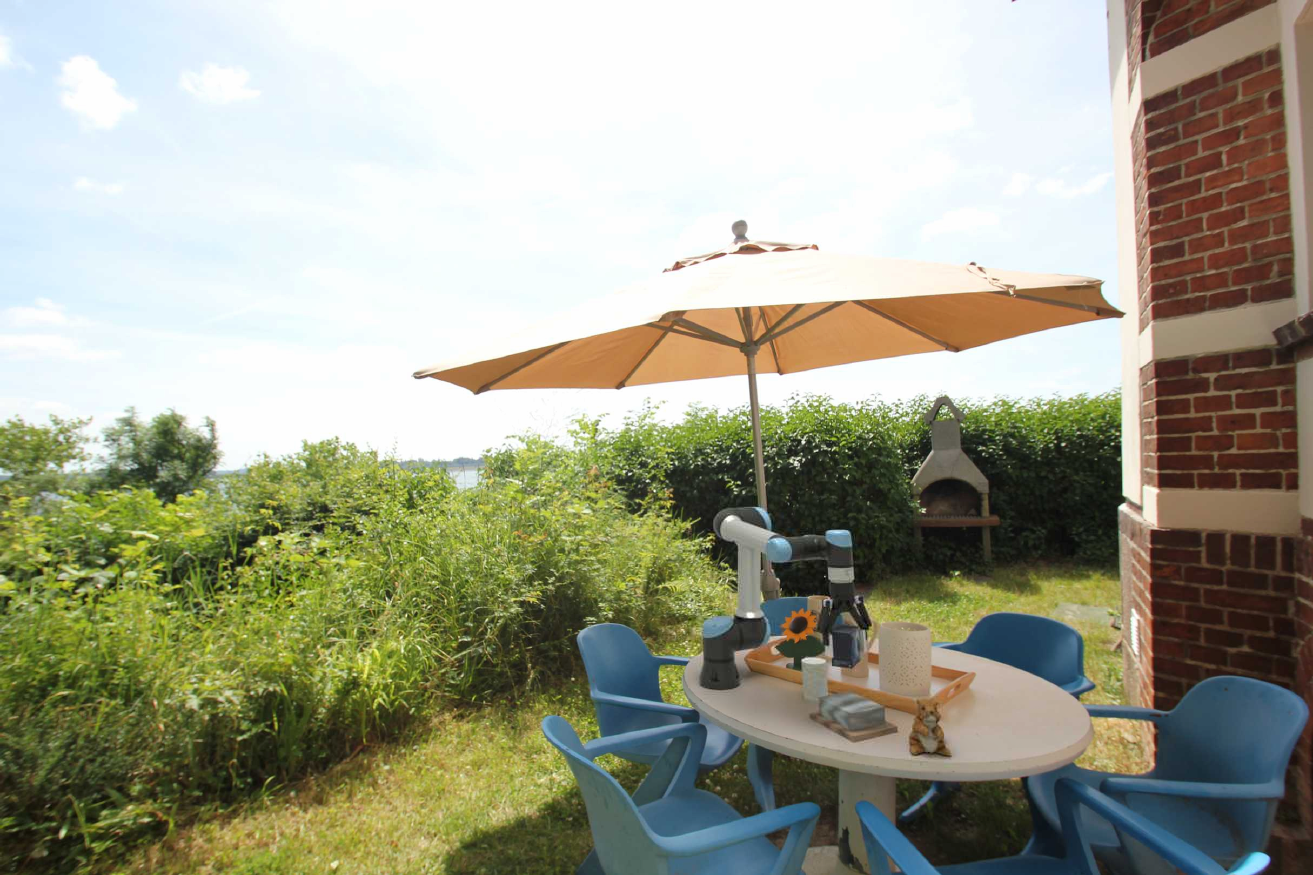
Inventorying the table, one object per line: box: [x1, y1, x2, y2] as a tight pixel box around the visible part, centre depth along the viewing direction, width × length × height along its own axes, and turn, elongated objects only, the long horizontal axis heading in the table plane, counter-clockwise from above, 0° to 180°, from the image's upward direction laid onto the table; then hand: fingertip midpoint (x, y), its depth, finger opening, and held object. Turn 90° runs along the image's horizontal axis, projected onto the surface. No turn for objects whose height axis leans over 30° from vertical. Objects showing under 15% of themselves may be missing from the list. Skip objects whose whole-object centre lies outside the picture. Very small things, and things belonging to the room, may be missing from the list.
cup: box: [801, 657, 829, 702], centre depth 197 cm, size 8×8×12 cm
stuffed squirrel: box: [908, 697, 952, 757], centre depth 157 cm, size 10×14×13 cm
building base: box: [808, 690, 899, 743], centre depth 173 cm, size 20×16×6 cm
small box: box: [830, 623, 862, 670], centre depth 175 cm, size 11×6×10 cm, turn 148°
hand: (846, 653), depth 175 cm, fingers closed on small box, 12 cm apart
